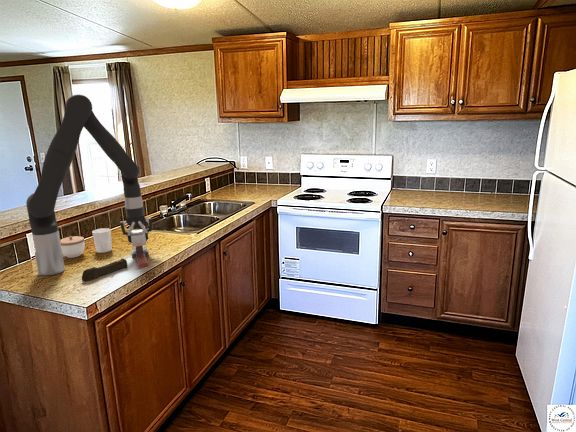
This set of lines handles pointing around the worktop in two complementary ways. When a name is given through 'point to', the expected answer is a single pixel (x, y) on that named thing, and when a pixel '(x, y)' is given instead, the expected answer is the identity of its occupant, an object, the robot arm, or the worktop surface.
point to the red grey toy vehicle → (140, 255)
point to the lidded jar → (72, 246)
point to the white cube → (138, 238)
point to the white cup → (102, 240)
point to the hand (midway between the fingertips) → (138, 241)
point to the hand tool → (103, 270)
